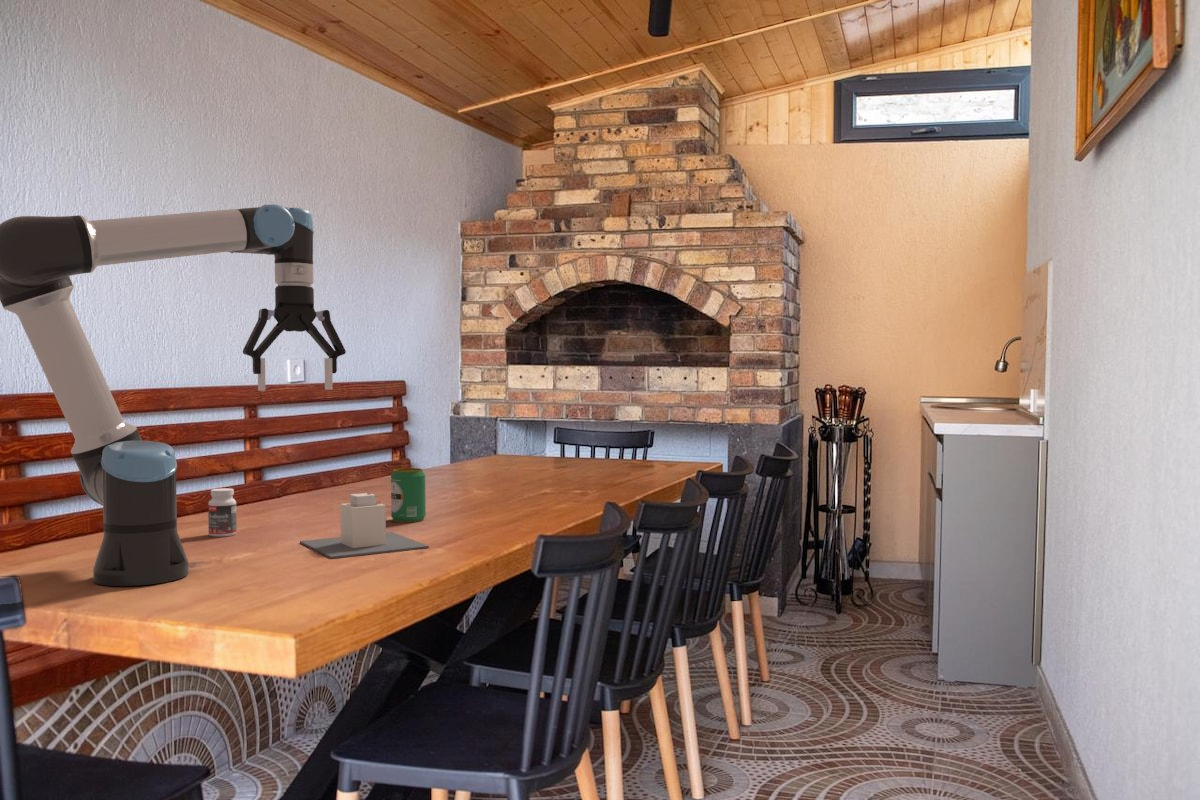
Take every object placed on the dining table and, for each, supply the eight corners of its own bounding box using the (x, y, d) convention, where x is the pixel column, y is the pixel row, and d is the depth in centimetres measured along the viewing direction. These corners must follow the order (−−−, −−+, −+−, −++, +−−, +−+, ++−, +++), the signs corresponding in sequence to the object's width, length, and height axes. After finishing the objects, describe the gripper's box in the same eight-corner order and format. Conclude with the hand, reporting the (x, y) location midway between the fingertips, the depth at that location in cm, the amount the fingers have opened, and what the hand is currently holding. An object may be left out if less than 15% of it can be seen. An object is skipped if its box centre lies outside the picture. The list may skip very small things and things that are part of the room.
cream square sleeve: (352, 547, 201) (351, 505, 201) (340, 542, 207) (340, 501, 207) (385, 544, 205) (385, 502, 205) (373, 539, 211) (373, 498, 211)
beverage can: (385, 519, 240) (384, 469, 239) (414, 516, 245) (413, 467, 244) (402, 523, 234) (402, 472, 233) (432, 520, 239) (431, 469, 238)
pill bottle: (204, 537, 216) (203, 491, 216) (213, 532, 222) (213, 487, 222) (231, 537, 217) (231, 491, 216) (240, 532, 222) (239, 487, 222)
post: (331, 558, 192) (330, 502, 192) (300, 542, 209) (299, 491, 209) (428, 547, 203) (428, 495, 203) (391, 533, 220) (391, 484, 220)
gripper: (235, 281, 195) (237, 391, 196) (360, 286, 209) (361, 389, 209) (226, 284, 201) (227, 390, 202) (347, 289, 215) (349, 388, 216)
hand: (295, 390), depth 206 cm, fingers open, 13 cm apart
